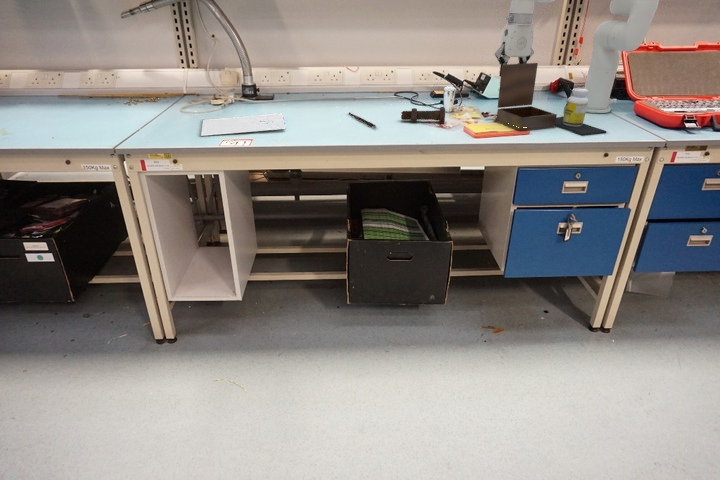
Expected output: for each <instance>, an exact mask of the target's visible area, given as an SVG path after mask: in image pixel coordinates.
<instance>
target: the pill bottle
mask: <svg viewBox="0 0 720 480" xmlns="http://www.w3.org/2000/svg"><path fill="white" fill-rule="evenodd" d="M571 94H572V95H571V96H569V97H568V98H567V101H566V103H567V105H566V104H565V105H566V109H565V113H564V114H563V117H564V118H563V124H564V125H567V126H572V127H579V126H582V124H584V120H585V118H586V114H587V112H586V109H587V106H588V98H586V95H587V94H588V90H587V89H584V88H579V87H578V88H577V87H576V88H573V89H572V92H571Z"/></svg>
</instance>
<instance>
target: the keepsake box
mask: <svg viewBox="0 0 720 480" xmlns="http://www.w3.org/2000/svg"><path fill="white" fill-rule="evenodd" d="M557 116H558V114H557V113H554V112H551V111H549V110H544V109H541V108H538V107H536V106H532V105H525V106H514V107H502V108H497V112H496V117H495V122H496V123H498V124H500V125H503V126H506V127H508V128H511V129H513V130H516V131H518V132H525V131H533V130H534V131H535V130H543V129H544V130H545V129H553V128H555V127H556V126H555V121H556V117H557ZM508 123H509V124H508ZM513 125H514V126H513ZM516 126H517V127H516ZM518 127H519V128H518ZM523 127H527V128H523Z"/></svg>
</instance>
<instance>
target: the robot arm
mask: <svg viewBox="0 0 720 480" xmlns="http://www.w3.org/2000/svg"><path fill="white" fill-rule="evenodd" d="M556 1H557V0H510V6H509V13H508V15H507V16H506V17H505V20H506V21H507V23H506V24H505V27H504V30H503V33H502V37H501V42H500V47H499V48H498V49H497V50H496V51H495V52H494V56H495V58H496V60H497V61H498V63H499V65H500V67H499V77H500V78H501V70H502V65H505V64H509V61H510V59H511V58H517V59H518V62H517V63H516V64H525V63H528V61H529V60H530V59H531V57H532V56H533V55H534V54H535V51H534V49H533V44H534V43H533V42H534V24H532V21H533V15H534V10H535V6H536V5H535V4H536V3H540V4H551V3H554V2H556ZM659 3H660V0H610V3H609V12H610V13H611V14H612V15H614V16H615V17H617V16H618V17H627V20H619V19H609V20H605V21H603V22H601V23H600V24H599V25H598V26H597V27H596V29H595V31H594V33H593V40H592V51H591V52H592V54H591V58H590V63H589V66H588V71H587V75H586V79H585V83H584V87H583V89H587V90H588V94H587V95H586V98H588V106H587V109H586V113H590V114H592V113H593V114H607V113H610V112H611V110H612V108H611V107H610V105H616V104H617V103H618V99H617V98H611V94H612V90H613V86H614V83H615V78H616V76H617V72H618V67H619V64H620V53H619V52H627V53H629V52H633V51H635V50H637V49H638V48H639V47H640V46H642V44H643V42H644V40H645V39H646V36H647V34H648V31H649V30H650V27H651V25H652V22H653V19H654V17H655V16H656V15H655V14H656V12H657V10H658V7H659Z"/></svg>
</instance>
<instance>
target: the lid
mask: <svg viewBox="0 0 720 480" xmlns="http://www.w3.org/2000/svg"><path fill="white" fill-rule="evenodd" d="M538 64H539V63H538V62H527V63H525V64H517V63H507V64H505V65H502V70H501V77H500V81H499V89H498V98H497V109H502V108H514V107H526V106H532V105H533V101H534V94H535V87H536V79H537V73H538V72H537V71H538Z"/></svg>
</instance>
